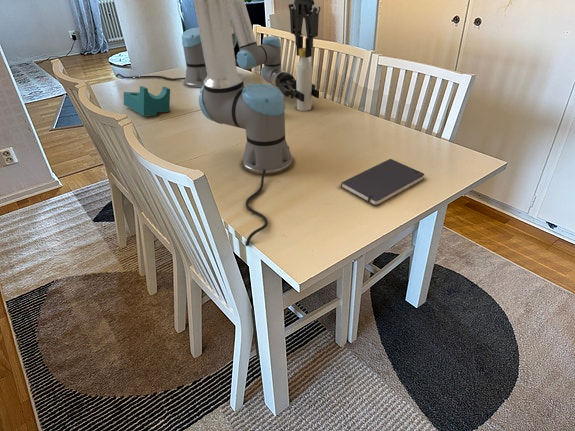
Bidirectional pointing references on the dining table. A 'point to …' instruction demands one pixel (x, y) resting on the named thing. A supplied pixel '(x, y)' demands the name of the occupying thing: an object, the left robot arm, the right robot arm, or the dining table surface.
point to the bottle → (304, 83)
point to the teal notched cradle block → (148, 101)
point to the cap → (302, 52)
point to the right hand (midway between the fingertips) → (304, 55)
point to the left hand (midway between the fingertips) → (310, 96)
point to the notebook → (382, 181)
